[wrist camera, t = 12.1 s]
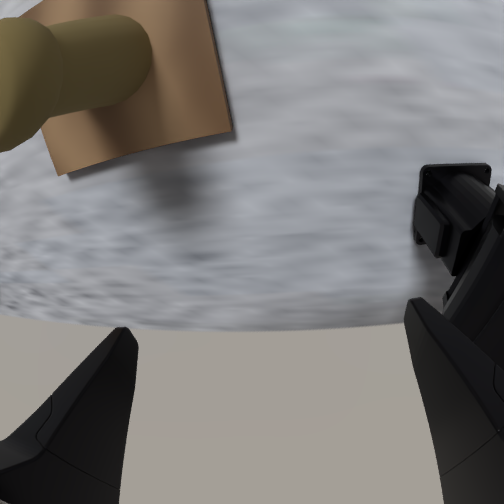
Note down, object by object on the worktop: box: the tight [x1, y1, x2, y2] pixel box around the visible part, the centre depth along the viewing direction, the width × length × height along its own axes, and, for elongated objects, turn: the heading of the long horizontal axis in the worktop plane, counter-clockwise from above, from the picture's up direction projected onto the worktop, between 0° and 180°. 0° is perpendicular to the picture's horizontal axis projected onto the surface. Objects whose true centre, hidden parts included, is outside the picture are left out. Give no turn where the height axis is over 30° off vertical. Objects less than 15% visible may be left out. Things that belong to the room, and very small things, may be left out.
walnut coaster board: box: [18, 0, 233, 176], centre depth 15 cm, size 13×13×1 cm
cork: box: [0, 14, 152, 153], centre depth 10 cm, size 6×6×11 cm
